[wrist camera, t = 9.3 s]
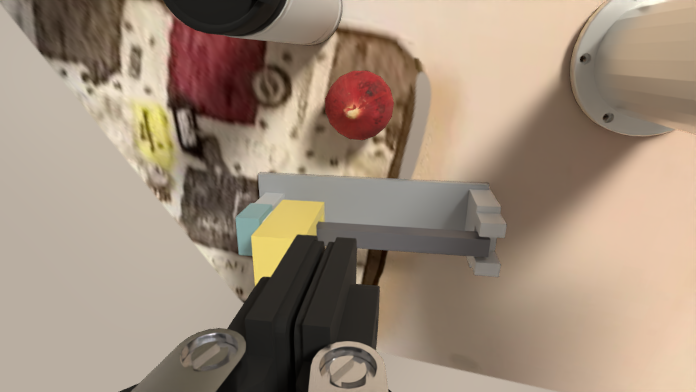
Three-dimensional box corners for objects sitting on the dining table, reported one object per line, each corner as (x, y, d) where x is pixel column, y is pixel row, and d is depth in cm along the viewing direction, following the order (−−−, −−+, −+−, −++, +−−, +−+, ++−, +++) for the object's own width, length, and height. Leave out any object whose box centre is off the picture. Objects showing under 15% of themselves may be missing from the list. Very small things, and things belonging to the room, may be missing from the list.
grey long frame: (490, 183, 39) (510, 215, 31) (481, 248, 41) (498, 292, 34) (259, 172, 42) (226, 198, 34) (264, 233, 44) (233, 271, 37)
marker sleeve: (324, 201, 37) (303, 239, 30) (324, 244, 39) (304, 291, 31) (282, 199, 38) (251, 235, 30) (284, 241, 39) (254, 286, 32)
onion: (366, 55, 37) (356, 55, 29) (407, 103, 38) (407, 115, 30) (321, 98, 39) (300, 108, 31) (361, 143, 40) (350, 164, 32)
